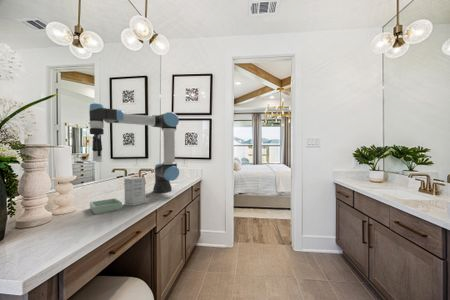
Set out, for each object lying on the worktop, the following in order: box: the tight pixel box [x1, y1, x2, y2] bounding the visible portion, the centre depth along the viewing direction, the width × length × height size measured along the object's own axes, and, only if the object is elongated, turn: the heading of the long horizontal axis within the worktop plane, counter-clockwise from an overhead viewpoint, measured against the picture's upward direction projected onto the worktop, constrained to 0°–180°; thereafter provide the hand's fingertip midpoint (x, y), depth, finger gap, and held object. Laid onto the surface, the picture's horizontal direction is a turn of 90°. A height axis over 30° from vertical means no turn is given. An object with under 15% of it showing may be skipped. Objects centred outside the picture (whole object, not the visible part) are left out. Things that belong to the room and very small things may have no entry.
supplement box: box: [123, 176, 146, 207], centre depth 131 cm, size 10×9×17 cm
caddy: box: [89, 197, 123, 215], centre depth 119 cm, size 14×15×4 cm
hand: (97, 161), depth 128 cm, fingers open, 13 cm apart
